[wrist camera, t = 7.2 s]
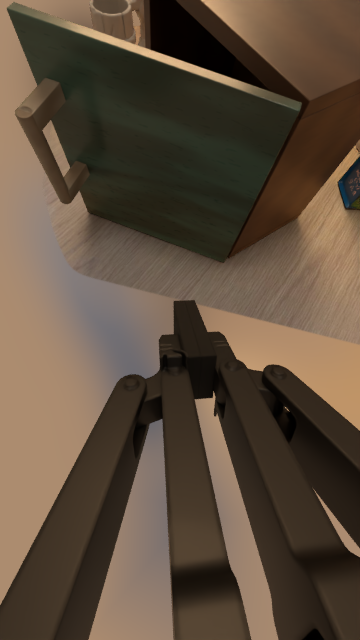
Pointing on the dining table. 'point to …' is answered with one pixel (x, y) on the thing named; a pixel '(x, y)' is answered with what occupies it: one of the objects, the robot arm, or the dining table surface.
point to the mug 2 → (358, 145)
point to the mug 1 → (118, 18)
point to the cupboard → (277, 83)
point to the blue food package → (351, 186)
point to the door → (149, 133)
